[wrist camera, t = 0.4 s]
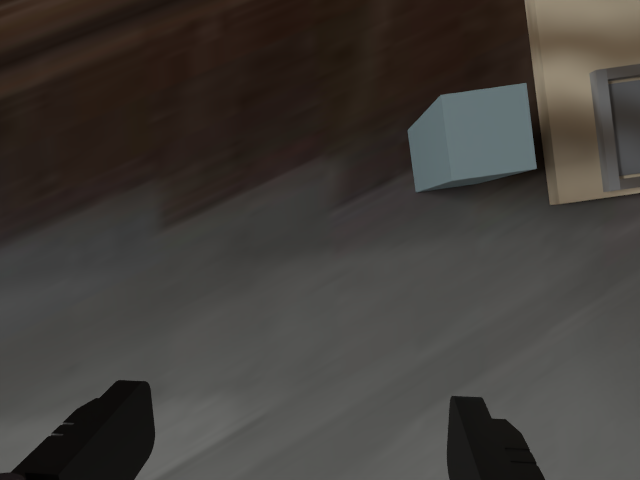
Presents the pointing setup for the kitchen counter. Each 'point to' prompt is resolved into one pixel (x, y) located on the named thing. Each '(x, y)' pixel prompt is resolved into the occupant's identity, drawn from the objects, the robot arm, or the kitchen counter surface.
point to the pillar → (472, 138)
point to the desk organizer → (587, 95)
